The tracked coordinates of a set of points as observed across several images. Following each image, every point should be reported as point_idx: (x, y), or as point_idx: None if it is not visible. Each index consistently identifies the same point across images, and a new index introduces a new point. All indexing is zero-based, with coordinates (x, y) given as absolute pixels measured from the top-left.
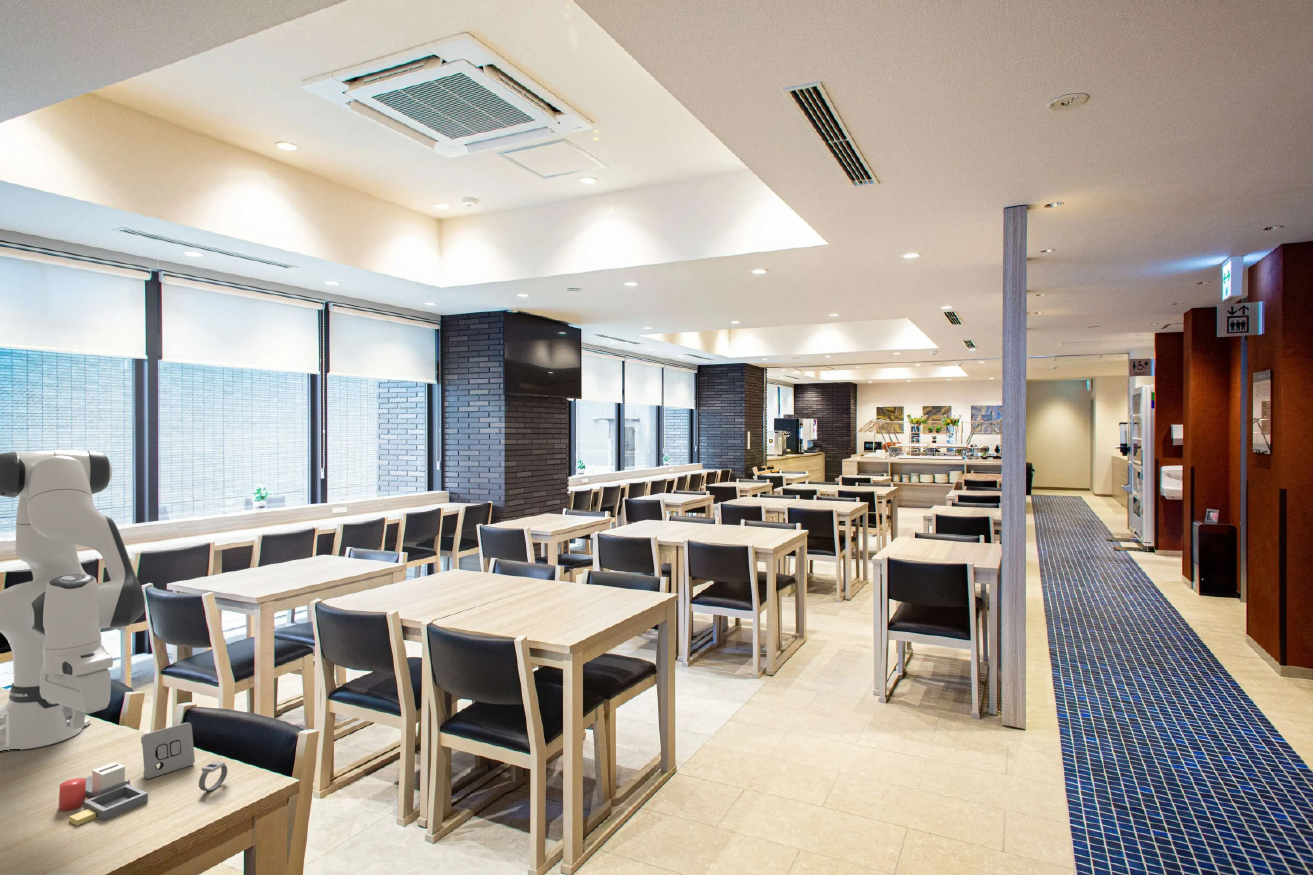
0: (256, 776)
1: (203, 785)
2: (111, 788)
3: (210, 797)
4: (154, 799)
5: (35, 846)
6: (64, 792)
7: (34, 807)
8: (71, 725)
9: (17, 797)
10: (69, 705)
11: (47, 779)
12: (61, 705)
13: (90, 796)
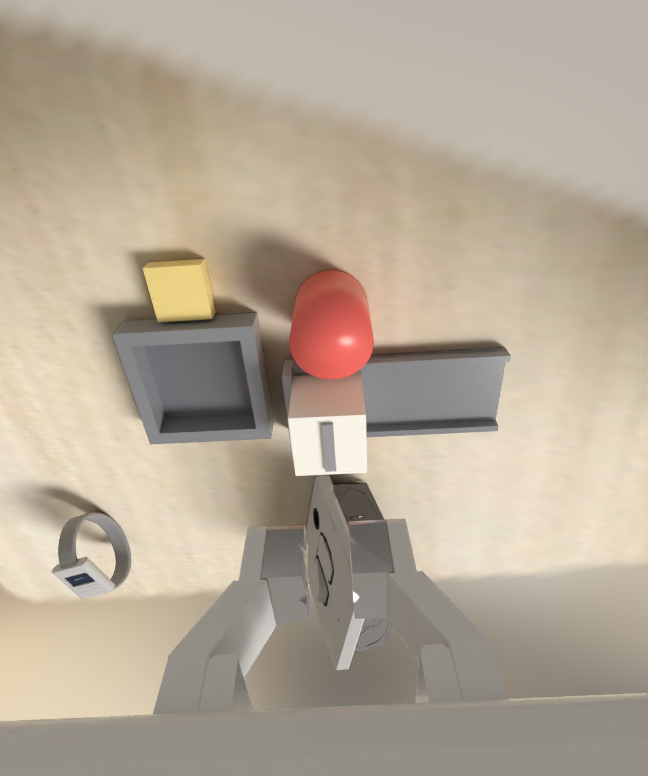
0: None
1: (65, 524)
2: (285, 404)
3: (60, 505)
4: None
5: (80, 118)
6: (308, 303)
7: (440, 228)
8: (278, 540)
9: (597, 220)
10: (136, 752)
11: (637, 330)
12: (463, 681)
13: None
